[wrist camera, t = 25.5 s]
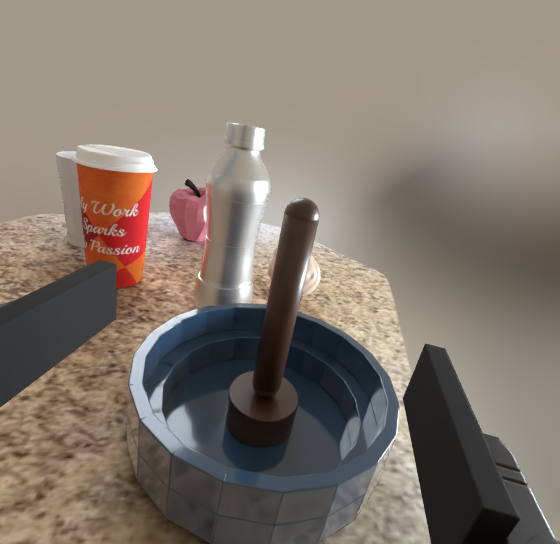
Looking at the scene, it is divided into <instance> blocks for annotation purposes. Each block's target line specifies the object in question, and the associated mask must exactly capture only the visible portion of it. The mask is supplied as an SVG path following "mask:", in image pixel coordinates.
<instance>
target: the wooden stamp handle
mask: <svg viewBox="0 0 560 544" xmlns="http://www.w3.org/2000/svg"><path fill="white" fill-rule="evenodd" d="M318 222H319V210H318V208H317V206H316V204H315V203H314V202H313V201H311V200H309V199H307V198H298V199H294V200H293V201H291V202H290V203H289V204H288V205H287V207H286V209H285V212H284V218H283V223H282V228H281V233H280V239H279V244H278V249H277V254H276V260H275V265H274V270H273V275H272V281H271V286H270V291H269V296H268V302H267V307H266V312H265V317H264V323H263V328H262V333H261V338H260V343H259V349H258V354H257V359H256V364H255V370H254V371H249V372H246V373H243V374H241V375H239V376H238V377H236V378H235V379H234V380H233V382H232V383H231V385H230V388H229V393H228V399H227V406H226V412H225V422H226V425H227V427H228V429H229V431H230V432H231V434H232V435H233V436H234V437H235V438H237V439H238V440H239V441H241V442H243V443H245V444H247V445H250V446H255V447H271V446H274V445H277V444H279V443H281V442H283V441H284V440H285V439H286V438H287V437H288V436H289V434H290V432H291V430H292V427H293V423H294V419H295V415H296V411H297V407H298V403H299V398H298V394H297V391H296V389H295V388H294V386H293V385H292V384H291V383H290V382H289V381H288V380H287V379H285V378H284V377H283V373H284V369H285V365H286V360H287V356H288V352H289V347H290V343H291V339H292V334H293V330H294V326H295V321H296V317H297V313H298V308H299V304H300V300H301V295H302V291H303V287H304V282H305V278H306V274H307V269H308V265H309V261H310V256H311V252H312V248H313V243H314V239H315V235H316V230H317V226H318Z"/></svg>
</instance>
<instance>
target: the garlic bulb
mask: <svg viewBox="0 0 560 544" xmlns="http://www.w3.org/2000/svg"><path fill="white" fill-rule="evenodd" d="M277 249H278V248H276V249H275V251H274V253H273V259H272V261H271V263H270V265H269V268H268V272H269V276H270V279H271V281H272V275H273V270H274V265H275V260H276V254H277ZM319 280H320V269H319V266H318V264H317V262H316V261H315V259H314V258H313V257H312V255H311V256H310V261H309V265H308V269H307V274H306V278H305V282H304V287H303V291H302V295H301V297H304V296H306V295H308V294H309V293H311V292H312V291H313V290H314V289H315V288H316V286H317V285H318V283H319Z"/></svg>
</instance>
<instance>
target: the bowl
mask: <svg viewBox="0 0 560 544" xmlns="http://www.w3.org/2000/svg"><path fill="white" fill-rule="evenodd" d="M266 307H267V305H265V304H249V303H228V304H221V305H213V306H205V307H201V308H198V309H195V310H192V311H189V312H186V313H183V314H180V315H177V316H175V317H173V318H172V319H170V320H169V321H167V322H166V323H164V324H163V325H161V326H159V327H158V328H156V329H155V330H153V331H152V332H150V334H149V335H148V336H147V338H146V339H145V340H144V342H143V343H142V345H141V346H140V347H139V349H138V350H137V351H136V353H135V354H134V356H133V360H132V366H131V371H130V377H129V382H128V408H127V446H128V450H129V454H130V457H131V461H132V465H133V468H134V472H135V476H136V479H137V481H138V483H139V484H140V485H141V487H142V488H143V489H144V490H145V492H146V493H147V494H148V495H149V497H150V498H151V499H152V500H153V502H154V503H155V504H156V505H157V507H158V508H159V509H160V511H161V512H162V513H163V514H164V516H165V517H166V518H167V519H169V520H170V521H172V522H174V523H175V524H177V525H179V526H181V527H182V528H184V529H186V530H187V531H189V532H191V533H193V534H194V535H196V536H198V537H199V538H201V539H203V540H205V541H206V542H208V543H210V544H319V543H320V542H322V541H323V540H325V539H326V538H328V537H329V536H331V535H332V534H334V533H336V532H337V531H339V530H340V529H342V528H343V527H345V526H346V525H348V524H349V523H351V522H353V521H354V520H355V519H356V517H357V516H358V514H359V513H360V511H361V509H362V508H363V506H364V505H365V503H366V502H367V500H368V498H369V497H370V495H371V494H372V492H373V491H374V489H375V487H376V484H377V482H378V479H379V477H380V475H381V472H382V470H383V467H384V465H385V463H386V460H387V458H388V455H389V453H390V451H391V448H392V446H393V443H394V441H395V439H396V436H397V429H398V418H399V407H400V406H399V402H398V399H397V396H396V393H395V391H394V388H393V385H392V382H391V379H390V377H389V375H388V374H387V373H386V372H385V370H384V369H383V368H382V366H381V365H380V364H379V362H378V361H377V360H376V359H375V357H374V356H373V355H372V354H371V353H370V352H369V351H368V350H367V349H365V348H364V347H363V346H362V345H360V344H359V343H358V342H357V341H355V340H354V339H353V338H352V337H351V336H349V335H348V334H346V333H345V332H343V331H341V330H339V329H337V328H335V327H333V326H332V325H330V324H328V323H326V322H324V321H322V320H320V319H317V318H315V317H312V316H309V315H306V314H303V313H300V312H298V313H297V317H296V321H295V326H294V330H293V334H292V339H291V343H290V347H289V352H288V356H287V360H286V365H285V369H284V373H283V377H284V378H285V379H287V380H288V381H289V382H290V383H291V384H292V385H293V386H294V388H295V389H296V391H297V394H298V398H299V403H298V407H297V411H296V415H295V419H294V423H293V427H292V430H291V432H290V434H289V436H288V437H287V438H286V439H285V440H284V441H283V442H281V443H279V444H277V445H274V446H271V447H255V446H250V445H247V444H245V443H243V442H241V441H239V440H238V439H237V438H235V437H234V436H233V435H232V434H231V432H230V431H229V429H228V427H227V425H226V422H225V412H226V406H227V399H228V393H229V388H230V385H231V383H232V382H233V380H234V379H235V378H236V377H238V376H239V375H241V374H243V373H246V372H249V371H254V370H255V364H256V359H257V354H258V349H259V343H260V338H261V333H262V328H263V323H264V317H265V312H266Z"/></svg>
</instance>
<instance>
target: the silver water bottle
mask: <svg viewBox="0 0 560 544" xmlns="http://www.w3.org/2000/svg"><path fill="white" fill-rule="evenodd" d="M264 137H265V129H262V128H256V127H252V126H247V125H242V124H236V123H230V122H227V126H226V136H225V138H224V143H226V144H227V146H226V150H225V151H224V152H223V153H222V154H221V156H220V157H219V158H218V159H217V160H216V161H215V163H214V164H213V165H212V167H211V168H210V170H209V172H208V175H207V177H206V213H207V220H206V237H205V248H204V253H203V258H202V263H201V268H200V272H199V274H198V277H197V280H196V284H195V288H194V302H195V306H196V308H197V309H198V308H201V307H205V306H213V305H221V304H228V303H249V304H251V302H252V299H253V278H252V277H253V265H254V252H255V247H256V239H257V237H258V233H259V228H260V224H261V221H262V217H263V214H264V211H265V208H266V205H267V201H268V200H267V199H268V198H269V194H270V190H271V188H270V179H269V176H268V173H267V171H266V168H265V166H264V164H263V162H262V160H261V157H260V150H264V145H263V144H264Z"/></svg>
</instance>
